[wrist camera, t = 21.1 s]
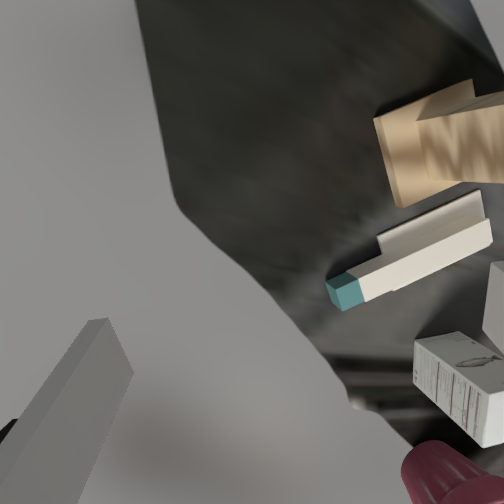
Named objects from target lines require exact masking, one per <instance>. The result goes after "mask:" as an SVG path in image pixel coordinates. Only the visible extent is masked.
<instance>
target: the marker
mask: <svg viewBox="0 0 504 504" xmlns="http://www.w3.org/2000/svg"><path fill="white" fill-rule="evenodd" d="M492 242H493V239H492V233H491V228H490V222H489V218H483V217H477V216H471V215H467V216H465V217H463V218H460V219H458V220H456V221H454V222H452V223H450V224H447V225H445V226H443V227H441V228H439V229H436V230H434V231H432V232H430V233H428V234H425V235H423V236H421V237H419V238H417V239H415V240H412V241H410V242H408V243H406V244H404V245H401V246H399V247H397V248H395V249H393V250H391V251H388V252H386V253H384V254H382V255H380V256H377V257H375V258H373V259H371V260H369V261H366V262H364V263H362V264H360V265H358V266H356V267H353V268H351V269H349V270H347V271H346V272H345V273H343V274H341V275H339V276H336V277H334V278H332V279H330V280H328V281H325V283H326V286H327V289H328V292H329V295H330V298H331V301H332V303H334V304H335V305H336V306H337V307H338V308H339V309H340V310H342V311H345V310H347V309H349V308H351V307H353V306H355V305H357V304H360V303H362V302H364V301H365V302H367V301H369V300H371V299H373V298H375V297H377V296H379V295H382V294H384V293H386V292H388V291H390V290H392V289H394V288H396V287H399V286H401V285H403V284H405V283H407V282H409V281H411V280H413V279H416V278H418V277H420V276H422V275H424V274H426V273H428V272H430V271H433V270H435V269H437V268H439V267H441V266H443V265H445V264H447V263H450V262H452V261H454V260H456V259H458V258H460V257H462V256H464V255H467V254H469V253H471V252H473V251H475V250H477V249H479V248H481V247H484V246H486V245H488V244H490V243H492Z"/></svg>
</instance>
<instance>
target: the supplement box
mask: <svg viewBox="0 0 504 504" xmlns="http://www.w3.org/2000/svg"><path fill="white" fill-rule="evenodd" d="M413 383H414V384H415V385H416V386H417V387H418V388H419V389H420V390H421V391H422V392H424V393H425V394H426V395H427V396H428V397H429V398H430V399H431V400H432V401H433V402H434V403H435V404H436V405H437V406H438V407H440V408H441V409H442V410H443V411H444V412H445V413H446V414H447V415H448V416H449V417H450V418H451V419H452V420H453V421H455V422H456V423H457V424H458V425H459V426H460V427H461V428H462V429H463V430H464V431H465V432H466V433H467V434H468V435H470V436H471V437H472V438H473V439H474V440H475V441H476V442H477V443H478V444H479V445H480V446H481V447H482V448H486V447H490V446H493V445H497V444H501V443H504V358H503V357H501V356H500V355H498V354H496V353H495V352H493V351H491V350H490V349H488V348H486V347H485V346H483V345H481V344H479V343H478V342H476V341H474V340H473V339H471V338H469V337H468V336H466V335H464V334H463V333H461V332H459V331H456V332H453V333H449V334H444V335H439V336H434V337H428V338H423V339H416V340H415V342H414V364H413Z"/></svg>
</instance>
